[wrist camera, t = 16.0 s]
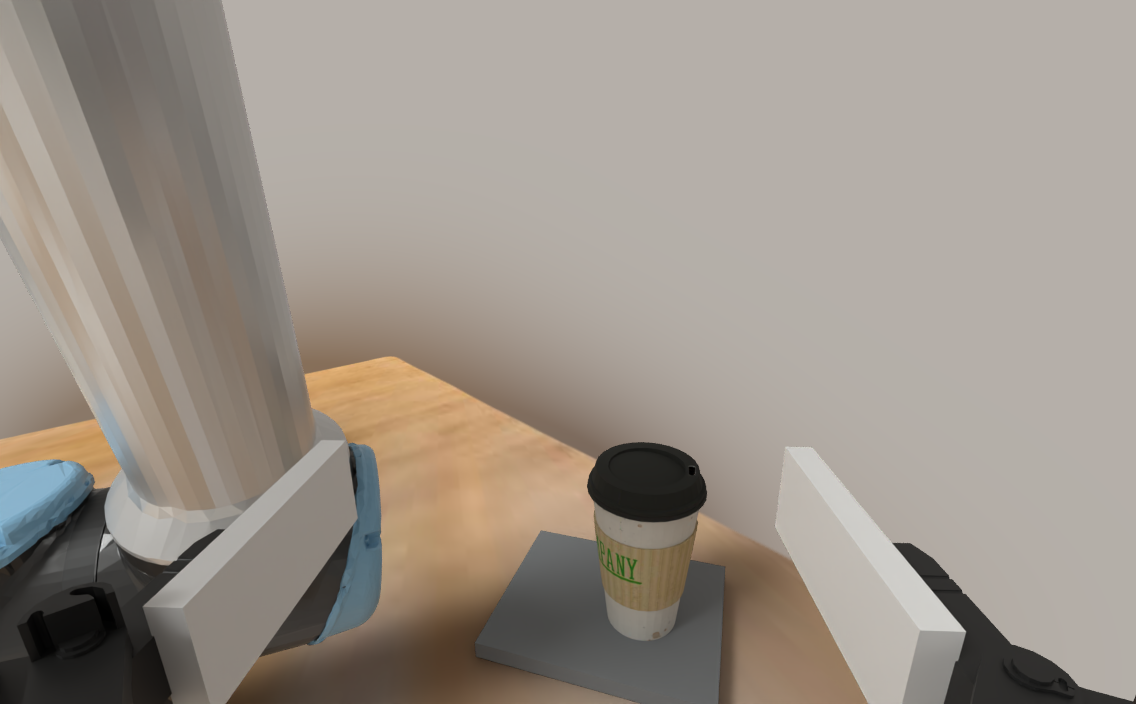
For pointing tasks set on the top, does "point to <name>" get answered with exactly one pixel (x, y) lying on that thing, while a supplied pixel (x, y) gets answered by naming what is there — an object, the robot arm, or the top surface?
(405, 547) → the top surface
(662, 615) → the coffee cup
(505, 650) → the mat
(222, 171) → the robot arm
